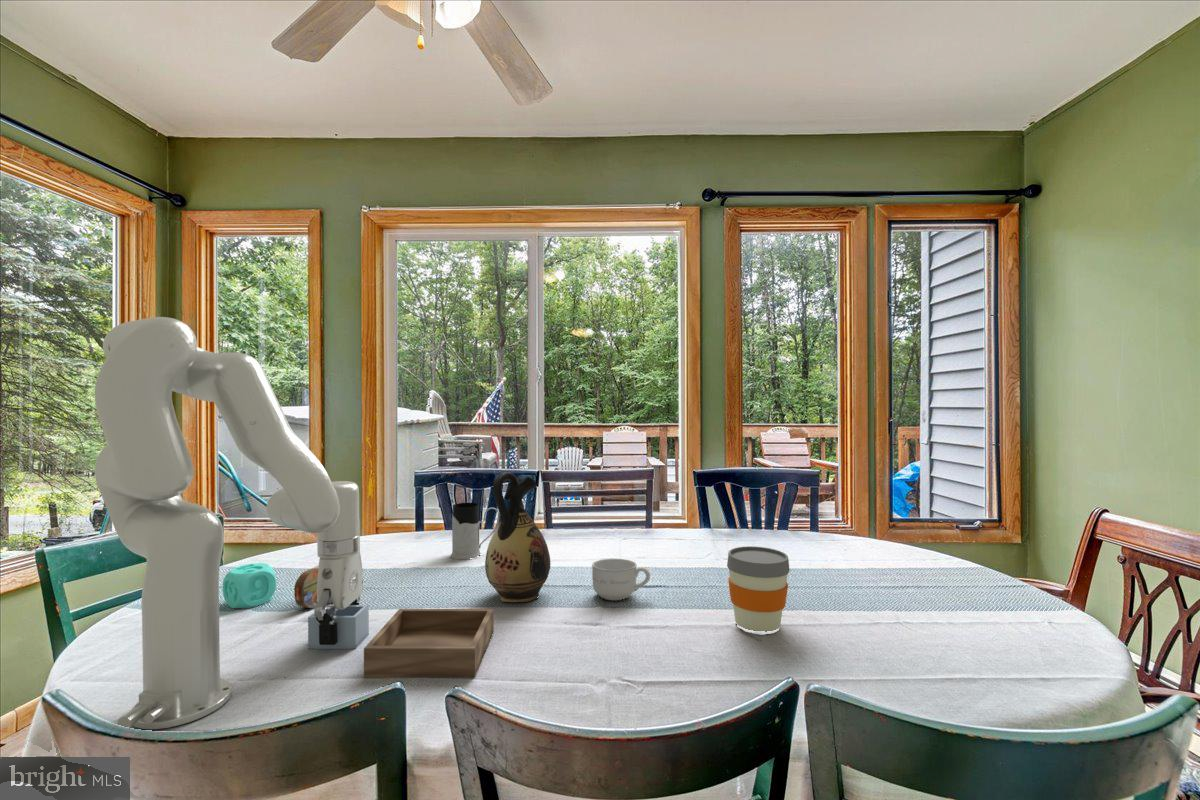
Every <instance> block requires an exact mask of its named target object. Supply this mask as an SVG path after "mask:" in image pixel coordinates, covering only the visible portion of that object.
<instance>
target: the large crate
mask: <svg viewBox="0 0 1200 800" xmlns="http://www.w3.org/2000/svg"><path fill="white" fill-rule="evenodd" d="M494 629H495V627H494V608H399V609H398V610H397V611H396V612H395V613H394V614H393V616H392V617H391V618H390V619H388V621H387V622H386V623H385V624H384V626H383V627H382V628H381V629H380V630H379V631H377V633H376V634H375V636H374V637H372V639H370V641H369V642H368V643H367V645H365V646H364V648H363V678H476V676H477V674H478V671H479V669H480V666H481V664H482V662H483V660H484V657H485V655H486V652H487V650H488V648H487V647H489V645H488V644H490V643H491V641H490V639H491V640H492V638H493V636H492V634H493V632H494V633H495V631H494ZM493 635H494V634H493ZM491 637H492V638H491ZM489 642H490V643H489ZM486 649H487V650H486ZM484 654H485V655H484ZM482 659H483V660H482Z"/></svg>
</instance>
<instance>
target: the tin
mask: <svg viewBox="0 0 1200 800" xmlns="http://www.w3.org/2000/svg"><path fill="white" fill-rule="evenodd" d="M318 568H319V564H318V565H316V566H314V567H311V568H310V569H307V570H305V571H303V572H302V573H300V575H299V576H298V578H297V579H296V582H295V584H294V587H293V588H294V590H293V591H294V592H293V593H294V600H295V603H296V604H297V606H299V607H300V608H305V609H314V608H315V606H316V604H317V582H318Z"/></svg>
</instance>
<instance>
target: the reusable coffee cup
mask: <svg viewBox="0 0 1200 800" xmlns="http://www.w3.org/2000/svg"><path fill="white" fill-rule="evenodd" d="M789 561H790V560H789V555H788V554H787V553H785V552H784V551H781V550H779V549H774V548H771V547H763V546H747V545H746V546H738V547H734V548H732V549H729V551H728V554H727V564H726V567H727V569H728V573H729V577H728V578H727V581H728V588H729V597H730V601H731V603H732V606H733V614H734V615H733V616H734V621H735V622H736V623H737V624H738V625H739V626H741V627H743V628H745V629H748V630H753V631H765V632H767V631H773V630H776V629H778V628H779V627H780V628H781V625H782V624H781V623H782V616H783V609H784V608H785V607H786V603H787V596H788V589H789V583H788V582H787V581H788V575H789V573H790V571H791V570H790V569H791V568H790V562H789ZM736 623H735V624H736Z"/></svg>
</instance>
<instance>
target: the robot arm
mask: <svg viewBox="0 0 1200 800" xmlns="http://www.w3.org/2000/svg"><path fill="white" fill-rule="evenodd" d="M102 351H103V354H104V357H105V360H104V362H103V363H102V365H101V368H100V369H99V373H98V375H97V378H96V381H95V385H94V402H95V403H94V404H95V408H96V413H97V416H98V419H99V422H100V425H101V428H102V432H103V436H104V438H105V441H106V445H105V446H104V447H103V448H102V449H101V451H100V452H99V454H98V455H97V457H96V460H95V462H94V463H95V464H94V476H95V477H94V478H95V481H96V486H97V487H98V490H99V493H100V495H101V498H102V500H103V503H104V505H105V508H106V510H107V513H108V515H109V517H110V520H111V522H112V525H113V528H114V530H115V532H116V534H117V536H118V539H119V540H120V542H121V543H122V544H123V546H124V547H125V548H126V549H127V550H129V551H130V552H131V553H133V554H135V555H137V556H140V557H143V558H145V559H146V567H145V574H144V577H143V583H142V591H141V621H142V622H141V631H142V632H141V638H142V641H141V642H142V646H141V647H142V691H141V692H140V693H139V694H138V702H137V703H136V704H134V705H133V707H132V708H131V709H130V710H129V712H127V713H125V714H123V715H122V716H121V717H119V718H118V719H117V722H116V725H117V724H118V725H121V726H124V727H130V728H132V727H135V728H137V729H142V730H161V729H168V728H173V727H177V726H181V725H186V724H187V723H191V722H193V721H196V720H200V719H202V718H203V717H205V716H208V715H209V714H212V713H213V712H215V711H216V710H218V709H220V708H221V707H222V706H224V704H225V703H227V702H228V700H229V699H230V698H231V696H232V692H233V691H232V689H233V688H232V684H231V682H230V681H229V680H226V679H224V678H221V661H220V660H221V659H220V655H221V654H220V653H221V651H220V647H221V646H220V596H219V595H220V594H219V593H220V591H219V589H220V588H219V587H220V586H219V585H220V584H219V583H220V566H221V560H222V553H223V549H224V542H225V541H224V540H225V533H224V527H223V524H222V522H221V519H220V518H219V517H218V516H217V515H216V514H215V512H214V511H212V510H211V509H209V508H207V507H206V506H204V505H201V504H198V503H193V502H189V501H185V500H184V499H183V497H182V493H184V492H185V491H186V490H187V489H188V488H189V486H190V485H191V483H192V481H193V479H194V474H195V473H194V471H195V470H194V469H195V468H194V463H193V459H192V457H191V455H190V452H189V449H188V447H187V444H186V441H185V438H184V435H183V432H182V430H181V427H180V424H179V422H178V419H177V416H176V411H175V407H174V404H173V403H174V402H173V397H172V396H173V392H175V393H176V394H180V395H183V396H187V397H190V398H194V399H196V400H199V401H204V402H209V403H210V402H211V403H214V405H215V406H216V409H217V411H218V412H219V414H220V416H221V418H222V420H223V421H224V423H225V425H226V427H227V430H228V431H229V433H230V435H231V437H232V439H233V441H234V443H235V446H236V447H237V448H238V451H240V453H241V454H242V455H244V457H246V458H247V459H248V460H249V461H251V462H252V463H254V464H255V465H257V466H259V468H261V469H263V470H264V471H266V472H267V473H268V474H269V475H271V476H272V477H273V479H275V480H276V481H277V482H278V484H279V485H280V486H281V489H278V490H276V491H275V492H274V493H273V494H272V495H271V496H270V497H269V499H268V500H267V503H266V506H265V507H266V509H265V510H266V514H267V517H268V518H269V519H270V521H271V522H273V523H274V524H276V525H278V526H280V527H282V528H288V529H291V530H298V531H301V532H303V533H304V532H305V533H309V534H316V538H317V539H316V540H317V541H316V542H317V544H316V546H317V550H316V551H317V555H316V556H317V557H318V558H319V561H318V565H319V568H318V582H317V604H316V606H315V608H313V611H314V612H315V615H316V620H317V621H318V622H317V624H318V625H319V644H320V645H335V644H336V643H337V642H338V634H337V623H335V620H336V616H337V613H338V609H340V610H344V609H345V608H346V607H348V606H349V605H360V600H361V595H362V594H363V591H364V580H363V579H364V576H363V573H364V572H363V563H362V557H361V534H360V533H361V532H360V529H361V528H360V526H361V525H360V524H361V523H360V487H359V486H358V484H357V483H356V482H354V481H349V480H336V481H332V480H331V478H330V476H329V474H328V471H327V470H326V469H325V467H324V466H323V464H322V463H321V461H320V460H319V459H318V458H317V457H316V455H315V454H314V453H313V452H312V451H311V449H310V448H309V447H308V446H307V445H306V444H305V443H304V441H303V440H302V439H301V438H300V437H299V436H298V435H297V434H296V433H295V431H294V430H293V429H292V427H291V426H290V423H289V421H288V419H287V417H286V415H285V413H284V411H283V408H282V406H281V404H280V402H279V400H278V398H277V396H276V393H275V390H274V389H273V387H272V385H271V383H270V381H269V379H268V376H267V374H266V373H265V370H264V369H263V367H262V365H261V364H260V362H259V361H258V360H257V359H256V358H255V357H253V356H251V355H249V354H246V353H243V352H235V351H234V352H228V351H227V352H218V353H217V352H213V351H210V350H208V349H207V350H206V349H204V348H201V347H199V346H198V340H197V336H196V334H195V332H194V331H193V330H192V329H191V327H190V326H189V325H187V324H186V323H185V322H183V321H181V320H179V319H177V318H174V317H173V318H172V317H167V316H155V317H154V316H153V317H148V318H142V319H141V318H140V319H136V320H130V321H124V322H123V323H120V324H118V325H116V326H114V327H112V328H111V329H110V330H109V331H108V332H107V334H106V335H105V337H104V339H103V343H102ZM329 605H334V606H329ZM326 611H332V614H331V617H330V616H329V615H328V613H326ZM314 612H313V613H314Z"/></svg>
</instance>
